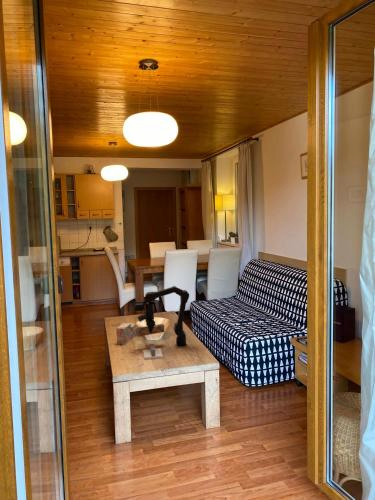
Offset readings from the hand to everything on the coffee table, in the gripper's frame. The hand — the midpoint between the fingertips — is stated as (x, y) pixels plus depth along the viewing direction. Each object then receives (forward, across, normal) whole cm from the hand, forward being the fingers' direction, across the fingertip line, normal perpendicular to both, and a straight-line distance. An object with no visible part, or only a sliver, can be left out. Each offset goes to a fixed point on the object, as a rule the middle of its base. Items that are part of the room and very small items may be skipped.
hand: (150, 331), depth 280 cm
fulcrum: (+11, +16, 0) cm, 19 cm away
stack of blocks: (+11, -20, -16) cm, 28 cm away
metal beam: (+1, 0, 0) cm, 1 cm away
